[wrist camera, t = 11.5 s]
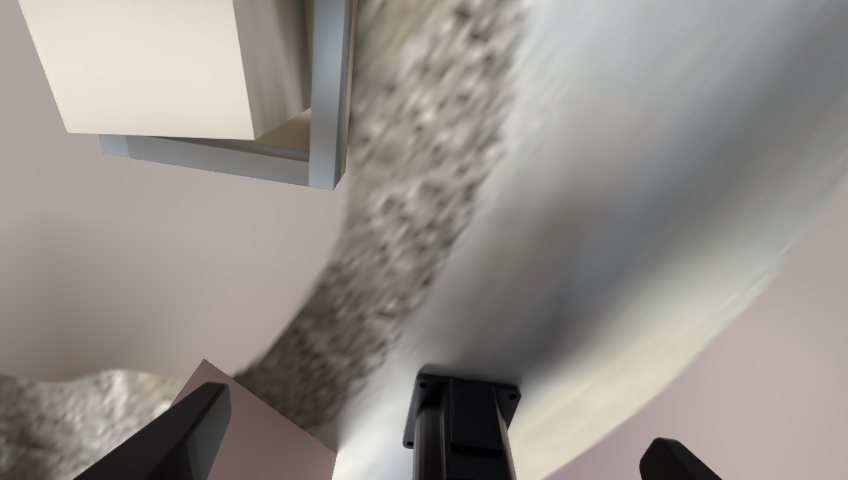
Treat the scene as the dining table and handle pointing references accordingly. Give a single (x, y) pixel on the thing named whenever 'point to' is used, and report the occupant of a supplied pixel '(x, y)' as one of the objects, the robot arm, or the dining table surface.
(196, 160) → the jig board
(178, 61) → the block
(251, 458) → the greeting card
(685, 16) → the dining table surface
